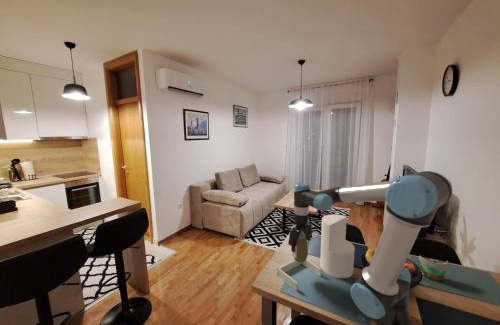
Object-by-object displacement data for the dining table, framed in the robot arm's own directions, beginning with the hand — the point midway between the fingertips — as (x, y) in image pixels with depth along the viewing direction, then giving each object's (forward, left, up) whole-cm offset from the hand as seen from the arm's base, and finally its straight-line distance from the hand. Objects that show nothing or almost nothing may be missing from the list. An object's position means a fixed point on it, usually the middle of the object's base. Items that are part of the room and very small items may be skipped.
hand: (300, 253), depth 109 cm
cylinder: (-7, -22, -13) cm, 27 cm away
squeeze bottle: (0, 0, -3) cm, 3 cm away
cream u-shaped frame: (0, 0, -13) cm, 13 cm away
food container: (-41, -55, -13) cm, 70 cm away
